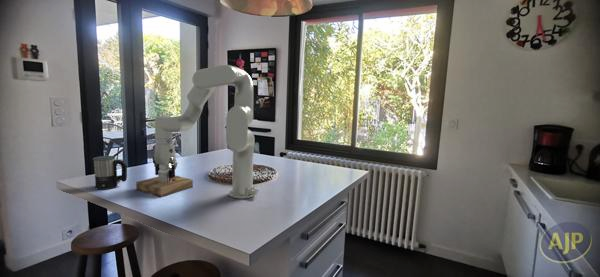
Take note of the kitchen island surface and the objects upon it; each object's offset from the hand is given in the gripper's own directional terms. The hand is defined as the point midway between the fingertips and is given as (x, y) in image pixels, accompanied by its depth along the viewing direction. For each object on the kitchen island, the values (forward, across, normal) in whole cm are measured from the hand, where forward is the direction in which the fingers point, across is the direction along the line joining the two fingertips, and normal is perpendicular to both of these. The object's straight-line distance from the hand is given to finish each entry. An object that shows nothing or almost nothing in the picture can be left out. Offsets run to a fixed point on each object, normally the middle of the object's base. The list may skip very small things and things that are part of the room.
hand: (165, 176), depth 143 cm
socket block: (+6, 0, 0) cm, 6 cm away
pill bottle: (+6, 0, 0) cm, 6 cm away
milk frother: (+7, +26, +11) cm, 29 cm away
